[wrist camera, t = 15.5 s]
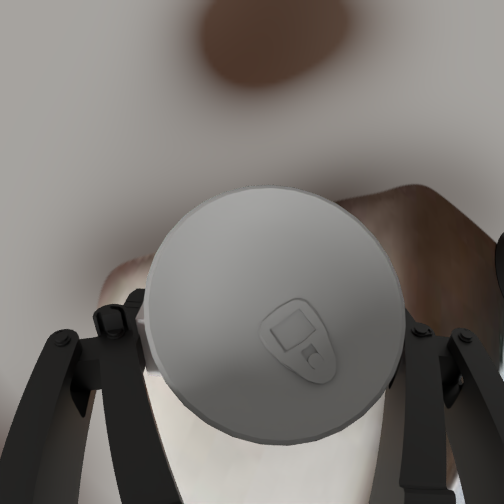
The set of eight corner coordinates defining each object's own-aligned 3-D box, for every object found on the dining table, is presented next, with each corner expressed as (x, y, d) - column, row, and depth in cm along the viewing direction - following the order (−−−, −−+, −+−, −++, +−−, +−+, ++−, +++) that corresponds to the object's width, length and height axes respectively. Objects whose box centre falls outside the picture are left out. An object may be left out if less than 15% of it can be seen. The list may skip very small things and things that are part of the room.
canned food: (269, 430, 17) (305, 496, 7) (167, 347, 18) (87, 313, 8) (345, 333, 19) (446, 286, 9) (247, 257, 21) (255, 144, 11)
